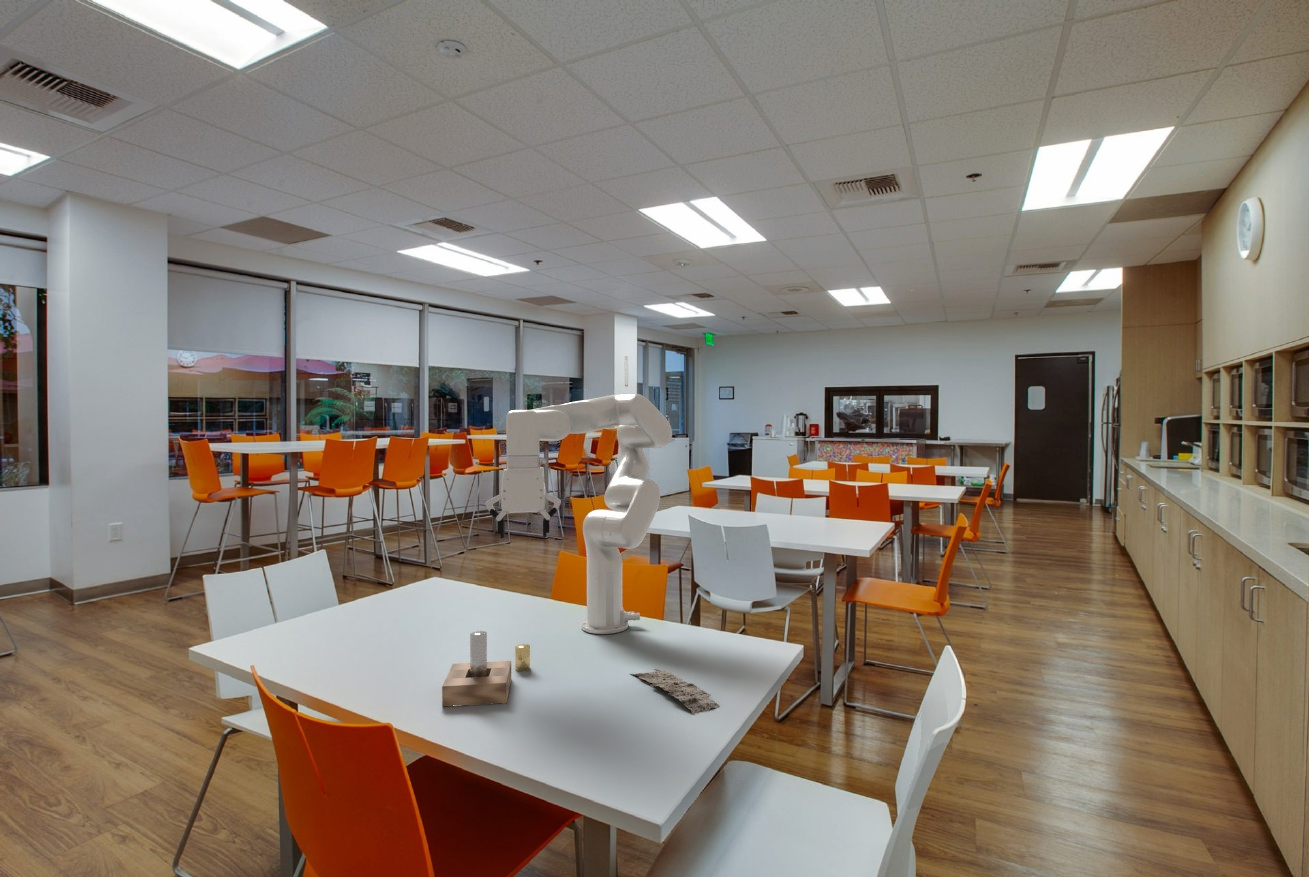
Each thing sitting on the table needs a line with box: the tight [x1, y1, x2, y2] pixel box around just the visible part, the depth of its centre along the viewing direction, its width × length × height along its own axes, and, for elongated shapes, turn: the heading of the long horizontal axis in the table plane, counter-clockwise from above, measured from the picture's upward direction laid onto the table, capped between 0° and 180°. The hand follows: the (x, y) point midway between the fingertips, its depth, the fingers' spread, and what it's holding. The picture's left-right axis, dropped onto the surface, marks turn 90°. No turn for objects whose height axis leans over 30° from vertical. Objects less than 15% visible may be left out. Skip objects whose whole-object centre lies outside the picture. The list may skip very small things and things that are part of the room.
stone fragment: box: [631, 668, 721, 715], centre depth 131 cm, size 25×3×10 cm
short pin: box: [514, 643, 531, 672], centre depth 142 cm, size 3×3×5 cm
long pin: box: [469, 630, 488, 678], centre depth 129 cm, size 3×3×12 cm
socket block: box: [441, 660, 512, 706], centre depth 129 cm, size 12×12×4 cm
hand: (523, 536), depth 149 cm, fingers open, 9 cm apart
